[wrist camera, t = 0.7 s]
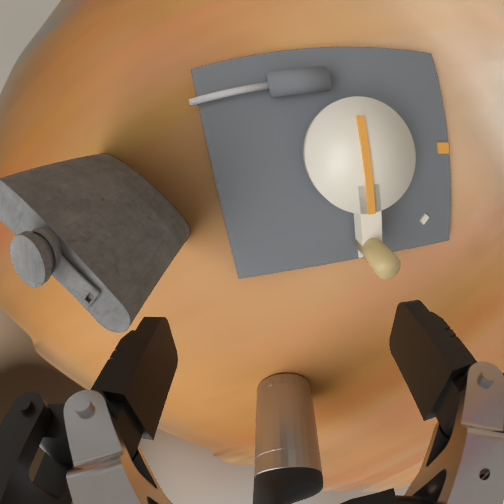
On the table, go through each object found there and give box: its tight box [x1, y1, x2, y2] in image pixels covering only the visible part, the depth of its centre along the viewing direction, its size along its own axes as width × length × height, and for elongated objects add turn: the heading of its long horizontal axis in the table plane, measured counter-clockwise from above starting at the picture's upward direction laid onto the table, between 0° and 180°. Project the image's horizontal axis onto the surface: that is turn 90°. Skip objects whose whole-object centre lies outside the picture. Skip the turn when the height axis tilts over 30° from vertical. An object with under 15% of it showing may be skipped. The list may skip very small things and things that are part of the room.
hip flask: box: [0, 153, 190, 333], centre depth 22 cm, size 16×4×20 cm, turn 47°
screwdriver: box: [189, 66, 331, 106], centre depth 24 cm, size 14×3×3 cm, turn 101°
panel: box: [191, 47, 451, 279], centre depth 28 cm, size 25×29×2 cm
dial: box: [302, 96, 416, 280], centre depth 24 cm, size 17×12×7 cm
